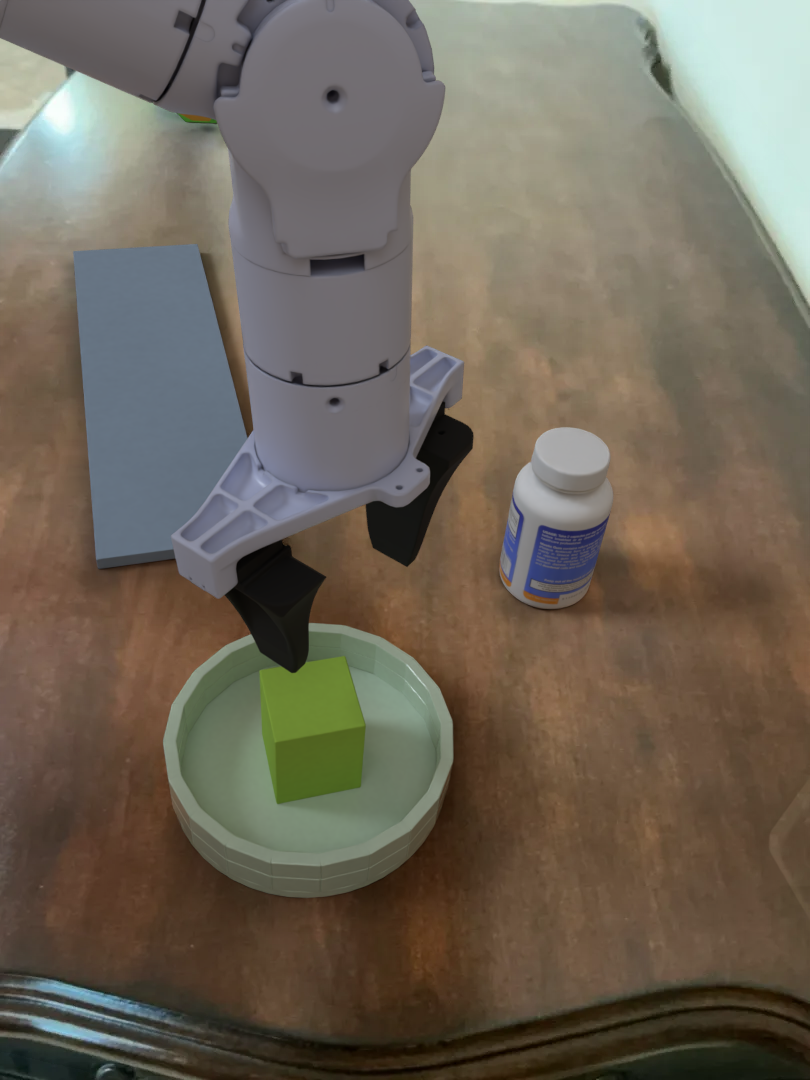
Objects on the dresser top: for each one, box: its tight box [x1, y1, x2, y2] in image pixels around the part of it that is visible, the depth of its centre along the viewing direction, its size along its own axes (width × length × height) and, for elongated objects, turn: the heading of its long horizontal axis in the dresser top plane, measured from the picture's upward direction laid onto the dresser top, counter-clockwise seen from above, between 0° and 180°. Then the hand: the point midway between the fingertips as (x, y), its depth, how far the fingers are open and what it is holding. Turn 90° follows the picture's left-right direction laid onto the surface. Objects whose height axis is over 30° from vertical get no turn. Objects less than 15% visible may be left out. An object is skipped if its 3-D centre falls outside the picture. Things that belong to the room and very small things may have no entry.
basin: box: [162, 622, 454, 899], centre depth 46 cm, size 13×13×3 cm
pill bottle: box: [498, 426, 614, 610], centre depth 54 cm, size 5×5×10 cm
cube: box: [259, 656, 366, 804], centre depth 45 cm, size 4×4×5 cm
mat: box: [72, 243, 248, 570], centre depth 68 cm, size 36×10×1 cm, turn 16°
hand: (340, 602), depth 43 cm, fingers open, 7 cm apart
